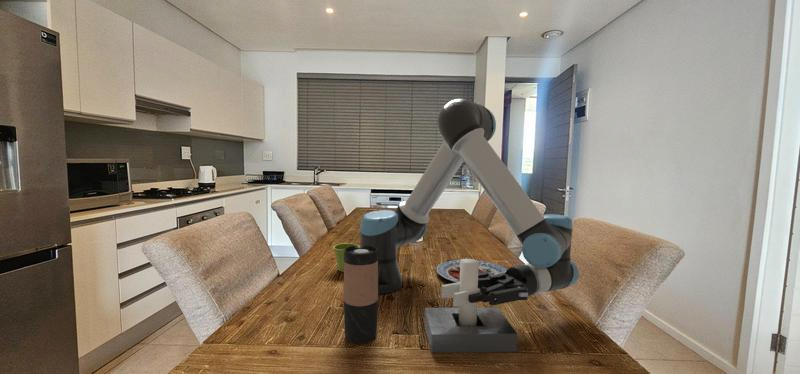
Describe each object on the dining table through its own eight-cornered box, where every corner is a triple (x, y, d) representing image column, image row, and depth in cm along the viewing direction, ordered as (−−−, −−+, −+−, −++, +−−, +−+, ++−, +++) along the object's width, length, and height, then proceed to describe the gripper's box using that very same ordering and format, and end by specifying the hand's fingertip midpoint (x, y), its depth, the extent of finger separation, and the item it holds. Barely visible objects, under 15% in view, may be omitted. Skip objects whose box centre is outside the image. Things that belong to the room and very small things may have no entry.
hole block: (431, 352, 66) (431, 334, 65) (424, 323, 78) (424, 307, 77) (516, 351, 66) (517, 333, 66) (496, 322, 78) (497, 307, 78)
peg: (455, 331, 71) (457, 262, 70) (461, 324, 75) (463, 257, 73) (473, 336, 69) (475, 265, 68) (478, 328, 73) (480, 260, 71)
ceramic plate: (455, 295, 95) (456, 285, 95) (426, 267, 120) (426, 260, 119) (529, 287, 102) (529, 278, 102) (486, 262, 127) (486, 255, 126)
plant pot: (349, 263, 122) (349, 241, 122) (364, 269, 116) (364, 246, 115) (328, 269, 116) (328, 246, 115) (343, 276, 109) (343, 251, 108)
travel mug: (363, 349, 67) (363, 256, 65) (336, 338, 71) (336, 250, 69) (384, 332, 73) (385, 248, 72) (358, 323, 77) (358, 243, 76)
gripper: (555, 308, 71) (472, 331, 61) (501, 282, 87) (427, 297, 77) (557, 276, 71) (473, 293, 61) (502, 255, 86) (428, 267, 76)
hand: (448, 295), depth 69 cm, fingers closed on peg, 4 cm apart
